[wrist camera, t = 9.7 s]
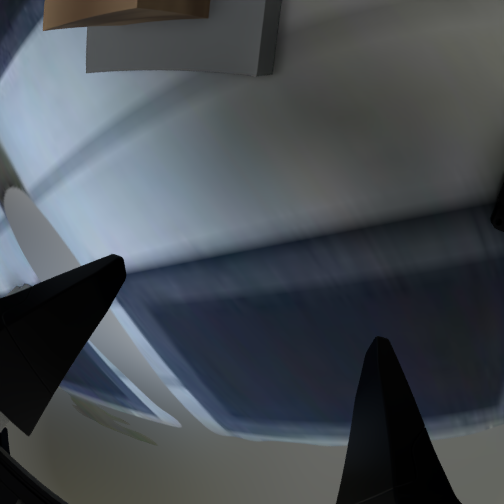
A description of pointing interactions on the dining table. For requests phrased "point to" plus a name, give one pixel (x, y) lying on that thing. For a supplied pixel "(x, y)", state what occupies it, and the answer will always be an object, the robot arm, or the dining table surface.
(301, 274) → the dining table surface
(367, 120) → the dining table surface
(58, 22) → the walnut cube
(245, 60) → the slate slab
